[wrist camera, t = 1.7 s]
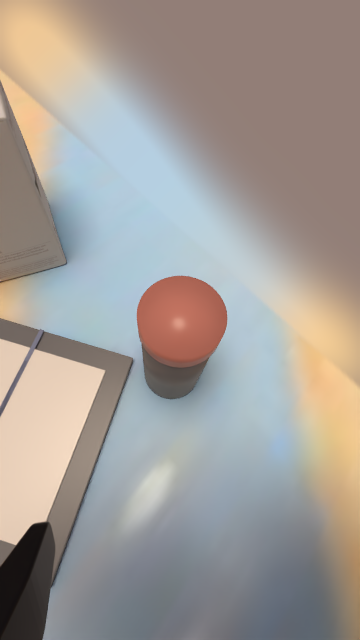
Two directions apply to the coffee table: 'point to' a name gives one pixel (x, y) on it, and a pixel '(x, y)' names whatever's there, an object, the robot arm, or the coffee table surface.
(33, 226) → the supplement box
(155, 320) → the ball
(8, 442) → the grey framed board
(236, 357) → the coffee table surface
